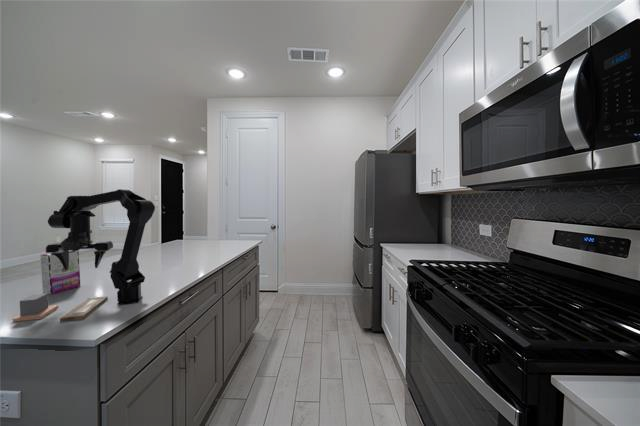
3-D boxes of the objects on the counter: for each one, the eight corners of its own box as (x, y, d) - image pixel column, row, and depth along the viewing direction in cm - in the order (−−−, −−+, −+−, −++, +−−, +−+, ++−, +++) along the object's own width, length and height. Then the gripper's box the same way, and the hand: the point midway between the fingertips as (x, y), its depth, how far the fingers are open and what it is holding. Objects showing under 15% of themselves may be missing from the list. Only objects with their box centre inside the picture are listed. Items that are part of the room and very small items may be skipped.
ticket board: (107, 299, 102) (107, 296, 102) (83, 319, 85) (83, 315, 85) (88, 301, 100) (88, 297, 100) (60, 321, 83) (60, 317, 83)
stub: (58, 307, 94) (57, 291, 93) (41, 318, 85) (40, 300, 85) (32, 310, 91) (32, 293, 91) (12, 321, 83) (11, 303, 83)
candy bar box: (72, 285, 118) (70, 249, 118) (80, 286, 117) (79, 249, 117) (41, 293, 107) (39, 254, 107) (50, 294, 106) (49, 254, 106)
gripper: (34, 231, 90) (36, 276, 91) (100, 230, 96) (101, 272, 97) (54, 228, 101) (56, 268, 101) (113, 227, 107) (114, 265, 107)
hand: (81, 268), depth 101 cm, fingers open, 9 cm apart
